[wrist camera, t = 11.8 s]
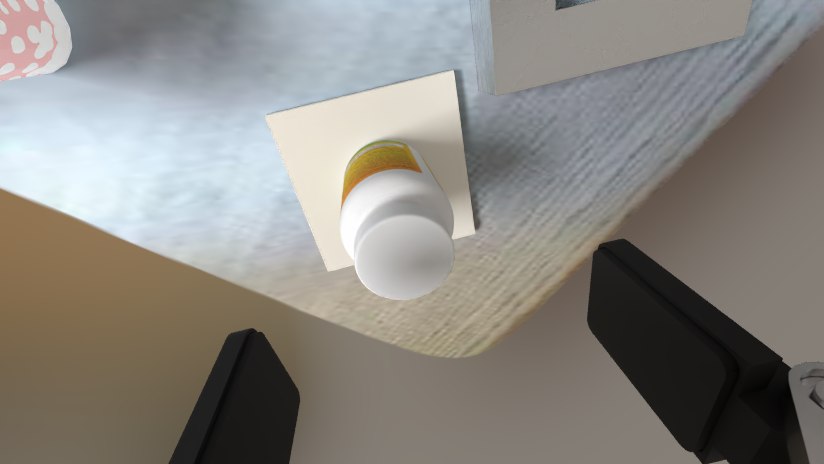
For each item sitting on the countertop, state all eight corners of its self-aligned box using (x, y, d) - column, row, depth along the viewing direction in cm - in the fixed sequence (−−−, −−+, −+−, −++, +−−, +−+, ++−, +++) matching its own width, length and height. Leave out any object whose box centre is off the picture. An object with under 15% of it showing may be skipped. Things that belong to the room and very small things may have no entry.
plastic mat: (451, 69, 20) (453, 70, 19) (472, 229, 25) (475, 233, 24) (267, 114, 19) (264, 116, 19) (328, 267, 25) (328, 271, 24)
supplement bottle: (327, 189, 21) (307, 279, 13) (376, 118, 20) (390, 167, 11) (395, 231, 23) (416, 332, 15) (444, 170, 22) (500, 244, 13)
